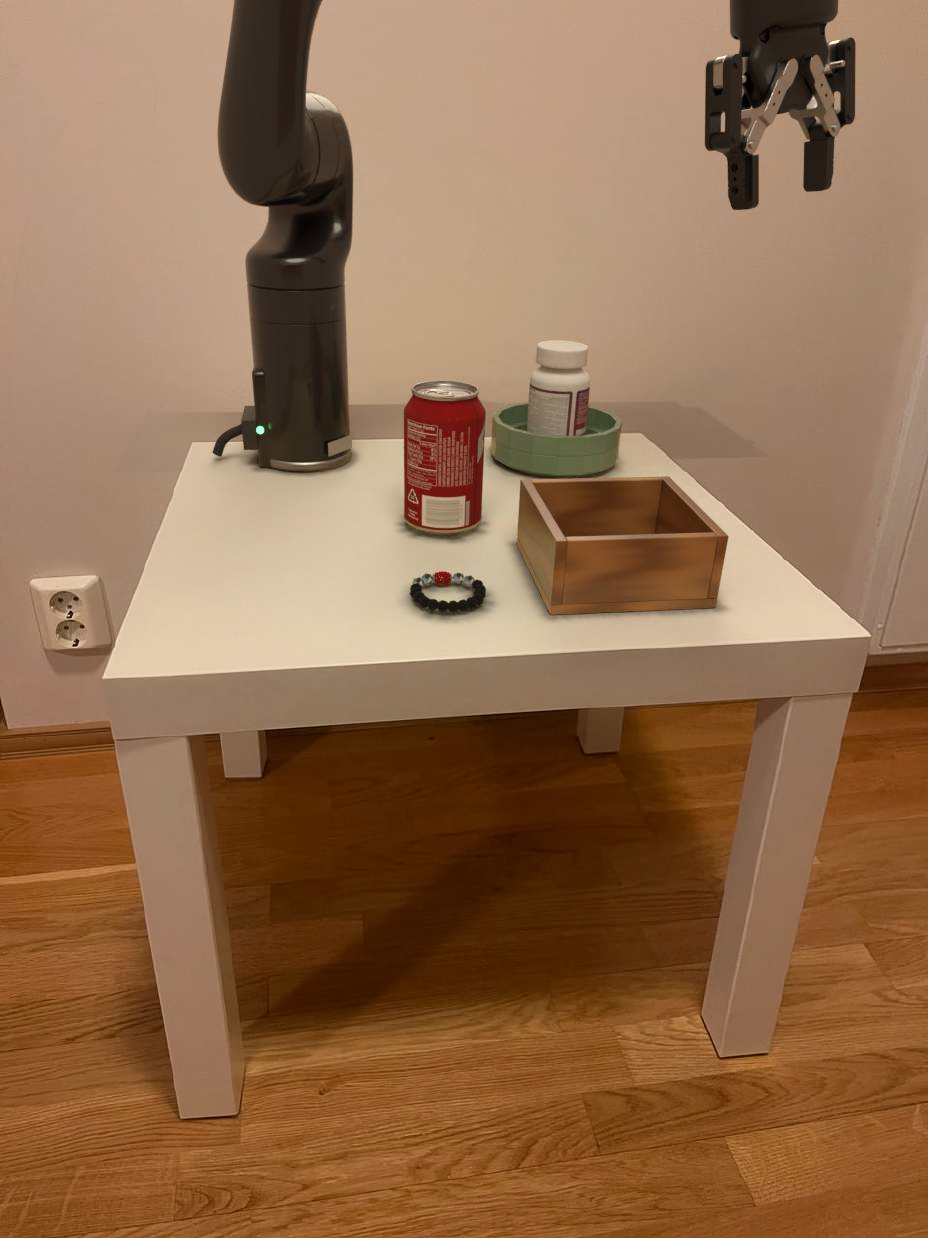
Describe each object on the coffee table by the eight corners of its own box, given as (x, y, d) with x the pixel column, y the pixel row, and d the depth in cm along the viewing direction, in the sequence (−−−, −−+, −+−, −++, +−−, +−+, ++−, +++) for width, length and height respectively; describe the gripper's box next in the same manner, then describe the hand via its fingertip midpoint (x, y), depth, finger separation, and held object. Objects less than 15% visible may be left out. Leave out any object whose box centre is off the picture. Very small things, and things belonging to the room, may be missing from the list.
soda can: (472, 544, 76) (478, 402, 70) (395, 535, 77) (394, 395, 72) (487, 514, 82) (493, 381, 76) (414, 507, 83) (415, 375, 77)
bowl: (504, 482, 90) (506, 438, 88) (482, 441, 101) (484, 401, 99) (632, 479, 92) (637, 436, 89) (597, 439, 103) (601, 400, 101)
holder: (550, 615, 65) (556, 541, 63) (516, 544, 76) (520, 478, 74) (716, 608, 67) (729, 535, 64) (660, 540, 78) (669, 475, 75)
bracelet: (479, 578, 70) (479, 567, 70) (492, 613, 65) (493, 601, 65) (405, 582, 69) (405, 570, 69) (414, 617, 64) (414, 604, 64)
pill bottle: (567, 443, 100) (576, 337, 94) (593, 460, 95) (604, 350, 89) (516, 447, 98) (522, 339, 92) (539, 466, 93) (547, 353, 87)
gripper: (806, -39, 71) (802, 188, 78) (673, -28, 65) (682, 216, 72) (893, -66, 65) (880, 182, 73) (756, -56, 59) (757, 213, 66)
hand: (781, 199), depth 72 cm, fingers open, 8 cm apart
